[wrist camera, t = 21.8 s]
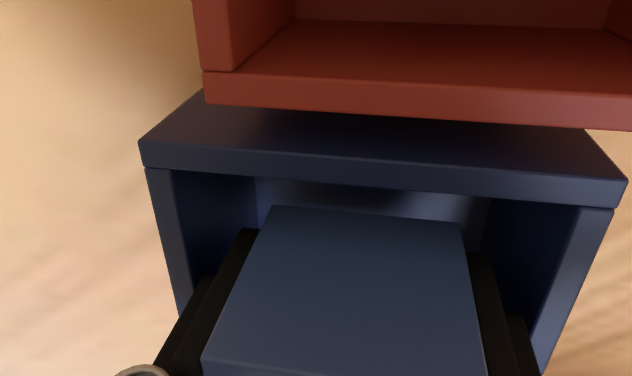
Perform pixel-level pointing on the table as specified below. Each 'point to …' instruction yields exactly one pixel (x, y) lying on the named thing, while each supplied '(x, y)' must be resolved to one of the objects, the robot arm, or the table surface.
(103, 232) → the table surface
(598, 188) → the blue bin
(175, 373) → the robot arm
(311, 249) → the blue block
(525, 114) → the red bin
